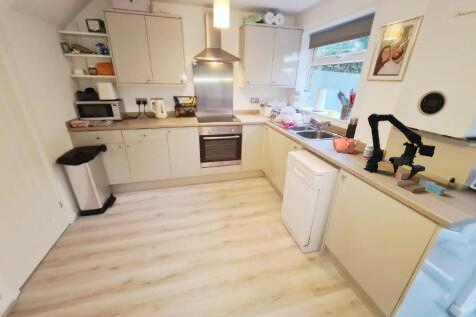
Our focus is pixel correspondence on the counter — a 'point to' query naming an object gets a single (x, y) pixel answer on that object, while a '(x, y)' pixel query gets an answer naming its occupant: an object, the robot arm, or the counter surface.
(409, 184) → the walnut slab
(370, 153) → the pill bottle
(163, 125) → the counter surface
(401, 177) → the terracotta brick
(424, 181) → the grey brick
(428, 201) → the counter surface
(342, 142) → the pot
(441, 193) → the teal brick
